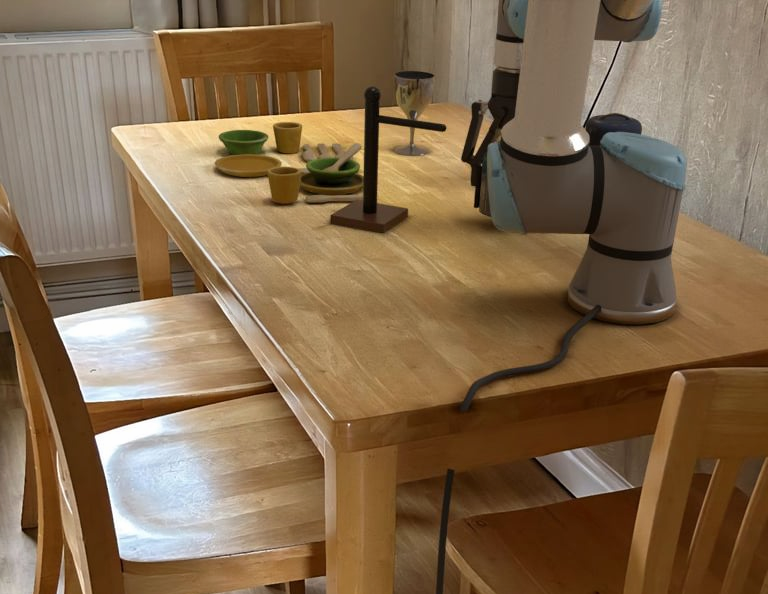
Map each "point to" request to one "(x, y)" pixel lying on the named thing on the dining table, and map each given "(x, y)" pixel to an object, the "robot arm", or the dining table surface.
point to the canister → (610, 126)
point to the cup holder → (376, 172)
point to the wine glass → (413, 102)
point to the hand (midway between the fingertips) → (504, 209)
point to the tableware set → (285, 181)
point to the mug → (484, 189)
